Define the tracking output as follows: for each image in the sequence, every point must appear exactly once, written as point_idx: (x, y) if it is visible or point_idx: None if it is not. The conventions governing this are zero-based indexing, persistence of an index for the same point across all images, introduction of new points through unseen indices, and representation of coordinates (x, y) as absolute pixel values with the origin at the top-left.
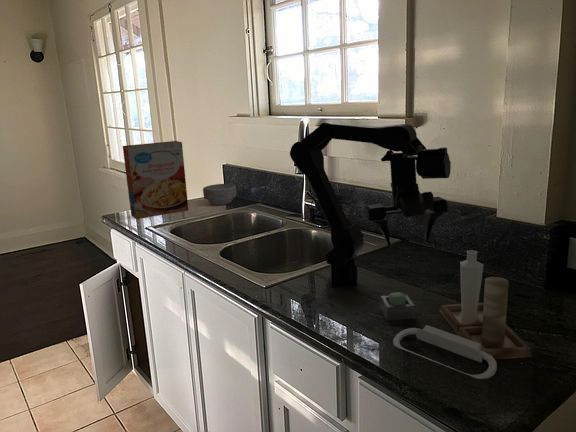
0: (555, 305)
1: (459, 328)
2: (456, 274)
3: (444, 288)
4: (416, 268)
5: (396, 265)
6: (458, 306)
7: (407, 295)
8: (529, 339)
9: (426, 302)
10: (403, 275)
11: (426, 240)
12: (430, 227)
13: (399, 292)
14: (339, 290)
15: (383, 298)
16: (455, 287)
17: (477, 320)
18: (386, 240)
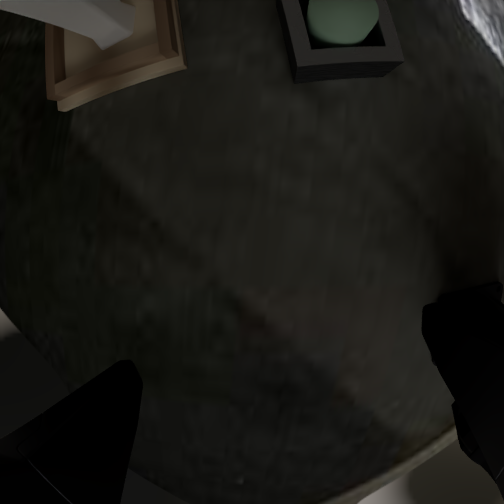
0: None
1: None
2: None
3: (146, 281)
4: (225, 424)
5: (281, 443)
6: (119, 56)
7: (297, 57)
8: None
9: (216, 157)
10: (271, 384)
11: (126, 362)
12: (44, 419)
13: (335, 31)
14: (485, 260)
15: (393, 38)
16: (115, 288)
17: None
18: (473, 314)
